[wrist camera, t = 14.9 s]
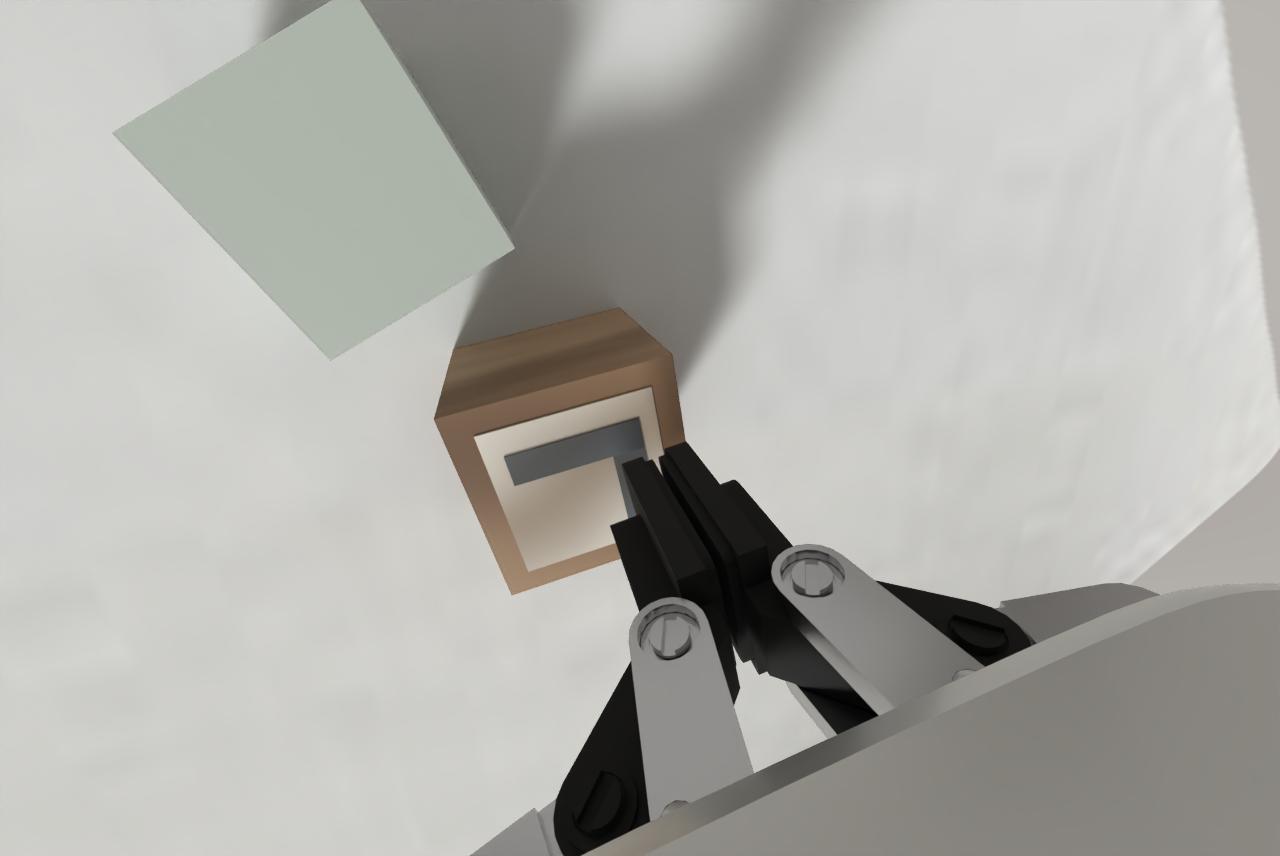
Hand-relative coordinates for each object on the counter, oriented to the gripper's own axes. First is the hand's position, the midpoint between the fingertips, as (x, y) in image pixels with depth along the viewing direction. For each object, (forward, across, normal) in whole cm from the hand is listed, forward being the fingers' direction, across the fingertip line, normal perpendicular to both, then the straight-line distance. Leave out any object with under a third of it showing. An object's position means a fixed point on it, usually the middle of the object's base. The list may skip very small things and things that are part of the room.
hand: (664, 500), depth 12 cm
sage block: (+8, +4, -8) cm, 12 cm away
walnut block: (+2, +2, 0) cm, 2 cm away
